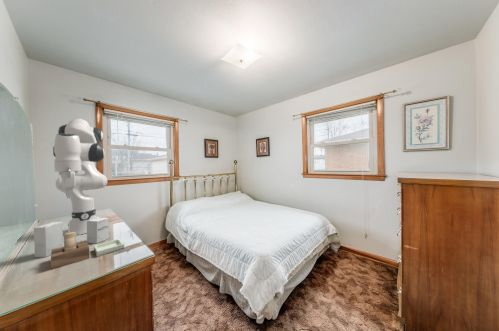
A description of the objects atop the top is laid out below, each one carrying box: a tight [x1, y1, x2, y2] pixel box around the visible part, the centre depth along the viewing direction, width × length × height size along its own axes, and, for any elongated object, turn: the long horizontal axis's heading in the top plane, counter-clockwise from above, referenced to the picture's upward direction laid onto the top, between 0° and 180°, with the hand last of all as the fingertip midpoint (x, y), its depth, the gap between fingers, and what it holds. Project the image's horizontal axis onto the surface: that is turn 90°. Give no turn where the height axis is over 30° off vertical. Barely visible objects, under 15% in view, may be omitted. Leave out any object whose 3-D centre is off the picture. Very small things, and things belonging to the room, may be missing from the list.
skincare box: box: [33, 221, 64, 258], centre depth 89 cm, size 8×6×15 cm
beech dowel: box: [63, 232, 77, 252], centre depth 83 cm, size 4×4×12 cm
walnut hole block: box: [50, 240, 90, 271], centre depth 83 cm, size 12×12×5 cm
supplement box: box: [86, 217, 110, 244], centre depth 104 cm, size 7×7×13 cm
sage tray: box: [93, 238, 125, 258], centre depth 92 cm, size 11×11×2 cm
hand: (69, 197), depth 83 cm, fingers open, 8 cm apart
